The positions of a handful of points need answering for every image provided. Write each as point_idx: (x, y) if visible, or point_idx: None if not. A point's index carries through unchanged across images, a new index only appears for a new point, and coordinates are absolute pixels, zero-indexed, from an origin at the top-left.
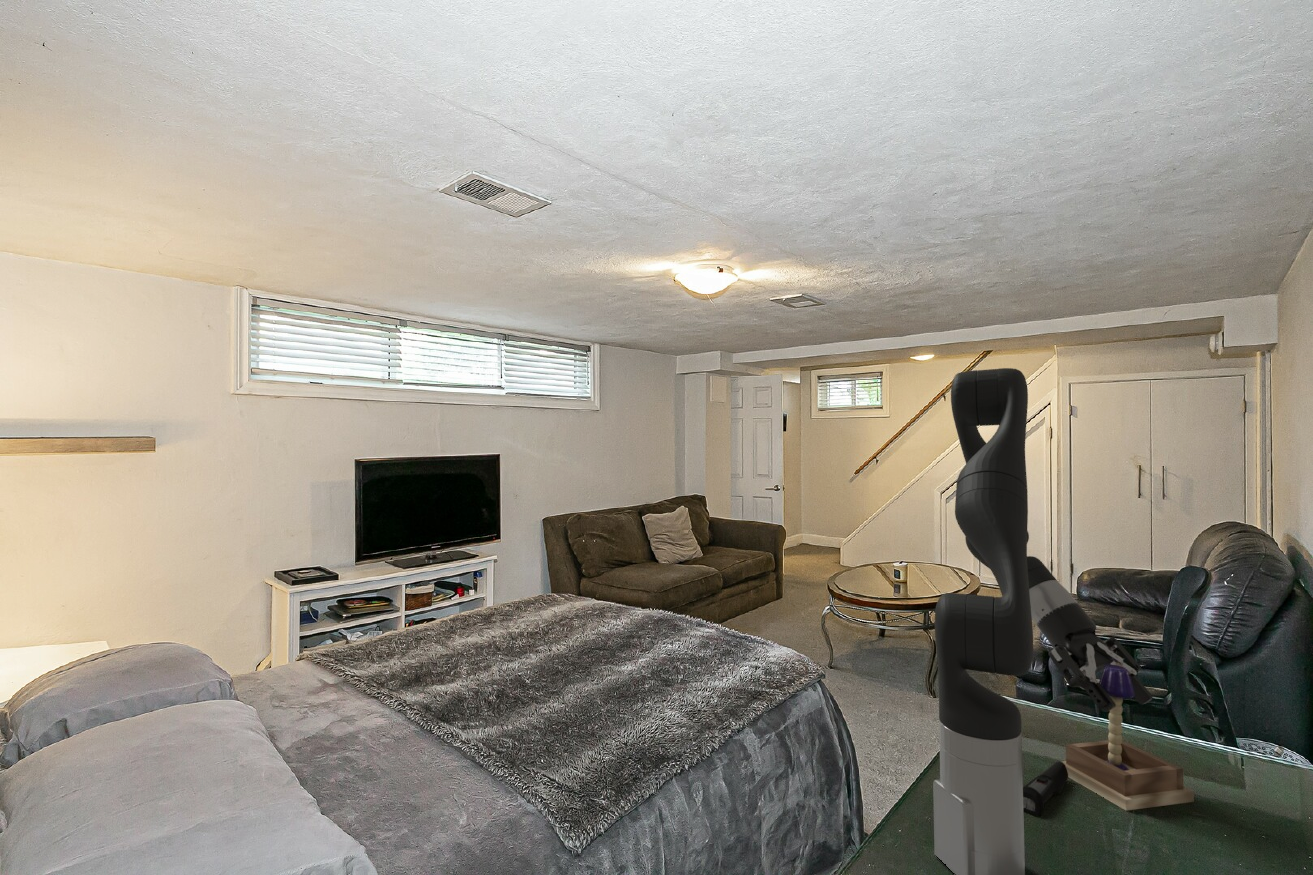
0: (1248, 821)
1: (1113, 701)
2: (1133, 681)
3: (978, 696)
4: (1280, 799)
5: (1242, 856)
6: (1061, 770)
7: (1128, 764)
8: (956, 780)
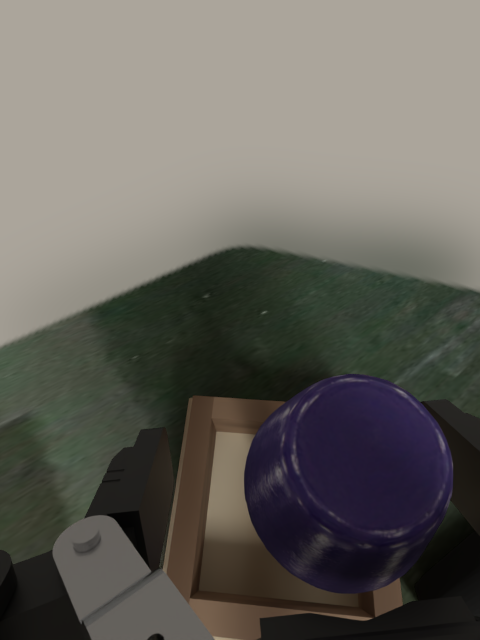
0: (175, 329)
1: (431, 406)
2: (149, 507)
3: None
4: (19, 365)
5: (301, 270)
6: (458, 576)
7: (202, 557)
8: None
